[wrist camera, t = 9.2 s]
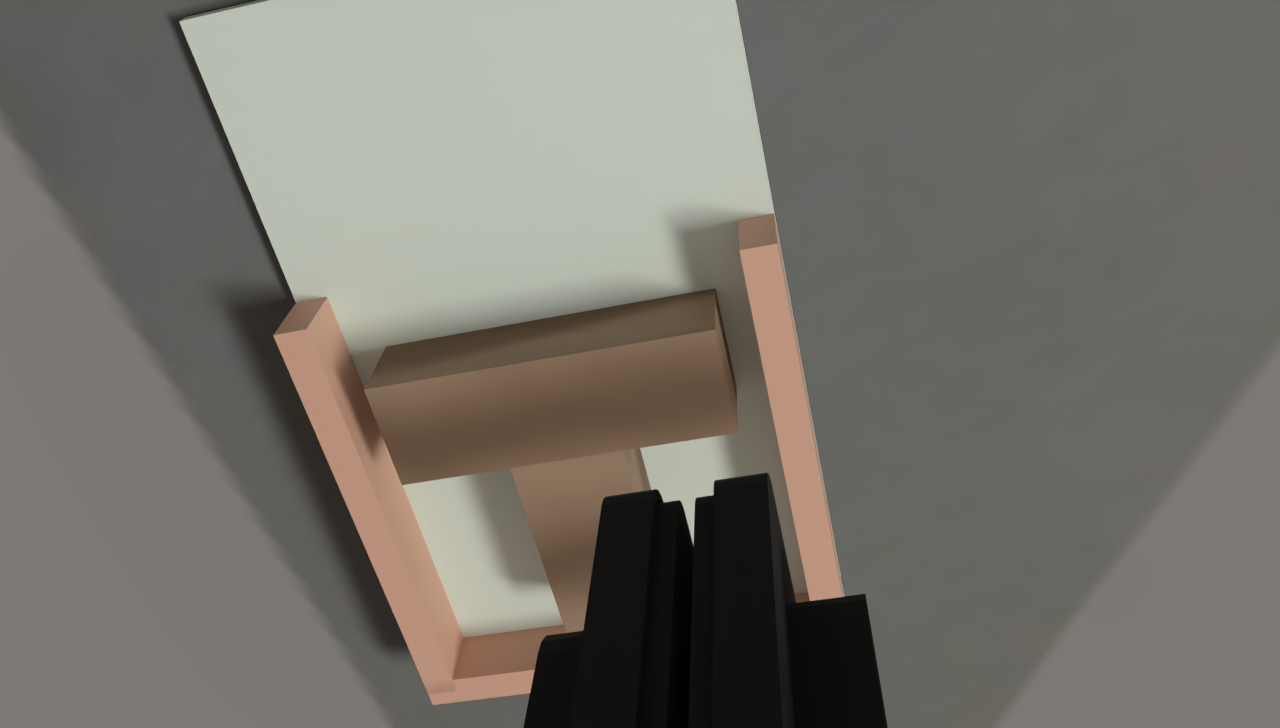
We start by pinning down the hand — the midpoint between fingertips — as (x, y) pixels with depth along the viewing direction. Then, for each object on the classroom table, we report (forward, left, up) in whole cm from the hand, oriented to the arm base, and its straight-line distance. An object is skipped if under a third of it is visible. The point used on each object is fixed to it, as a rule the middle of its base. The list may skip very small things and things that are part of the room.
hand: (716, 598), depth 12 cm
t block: (+15, -8, -27) cm, 32 cm away
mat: (+11, -8, -27) cm, 30 cm away
